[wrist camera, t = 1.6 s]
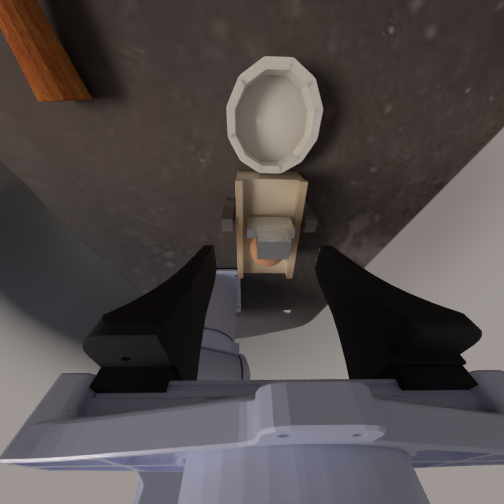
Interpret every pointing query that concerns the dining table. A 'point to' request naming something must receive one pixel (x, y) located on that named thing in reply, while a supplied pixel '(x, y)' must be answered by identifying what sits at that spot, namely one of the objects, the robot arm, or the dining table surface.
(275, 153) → the white round shallow bowl
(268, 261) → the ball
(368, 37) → the dining table surface
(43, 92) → the kendama
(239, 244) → the wooden box
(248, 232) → the gate
